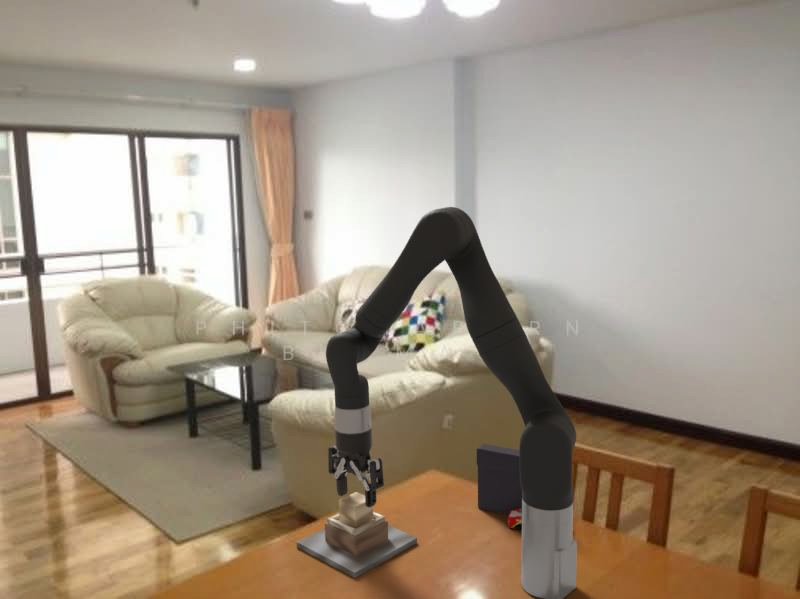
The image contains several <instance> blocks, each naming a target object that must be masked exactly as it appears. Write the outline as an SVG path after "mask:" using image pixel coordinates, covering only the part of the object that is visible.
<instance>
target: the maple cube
mask: <svg viewBox="0 0 800 599" xmlns="http://www.w3.org/2000/svg"><path fill="white" fill-rule="evenodd" d="M373 512H374V506H372V507H366V503H365V494H363V493H360V492H358V491H355V492H353V493H351V494H348V495H346V496H344V497H341V498H340V499H338V513H339V518H340V522H342V523H344V524H346V525H348V526H350V527H352V528H355V529H356V528H358V527H360V526H362V525H364V524H366V523H368V522H370V521H372V520H373Z"/></svg>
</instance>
